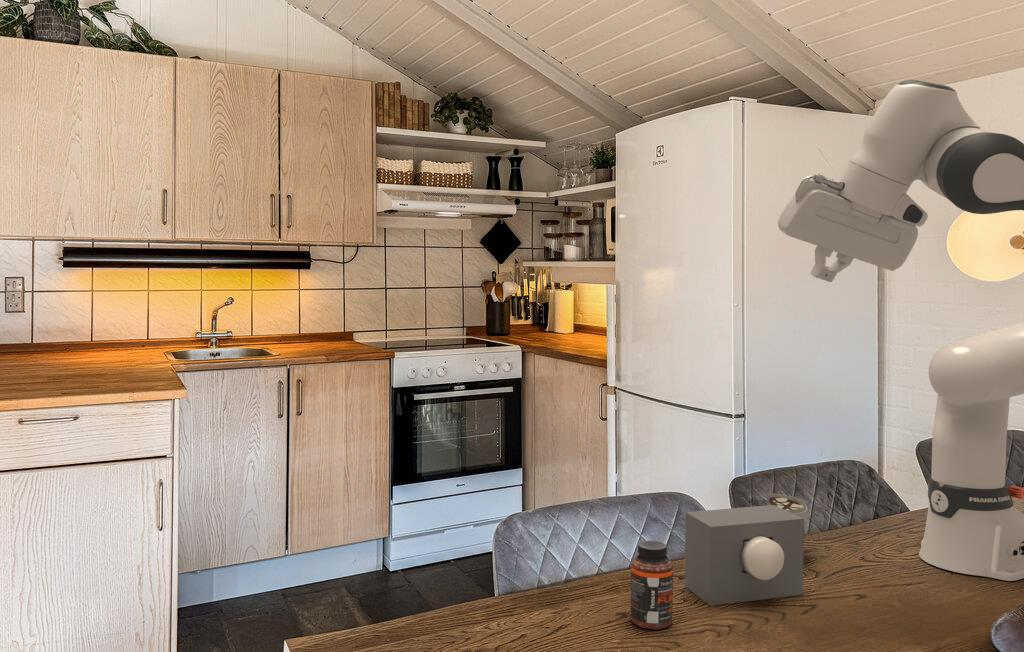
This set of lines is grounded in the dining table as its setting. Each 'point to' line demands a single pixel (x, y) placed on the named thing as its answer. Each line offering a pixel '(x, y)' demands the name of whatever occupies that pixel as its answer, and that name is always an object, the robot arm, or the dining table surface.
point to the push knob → (762, 557)
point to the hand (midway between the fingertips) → (820, 278)
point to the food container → (789, 504)
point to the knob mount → (720, 553)
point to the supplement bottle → (651, 586)
